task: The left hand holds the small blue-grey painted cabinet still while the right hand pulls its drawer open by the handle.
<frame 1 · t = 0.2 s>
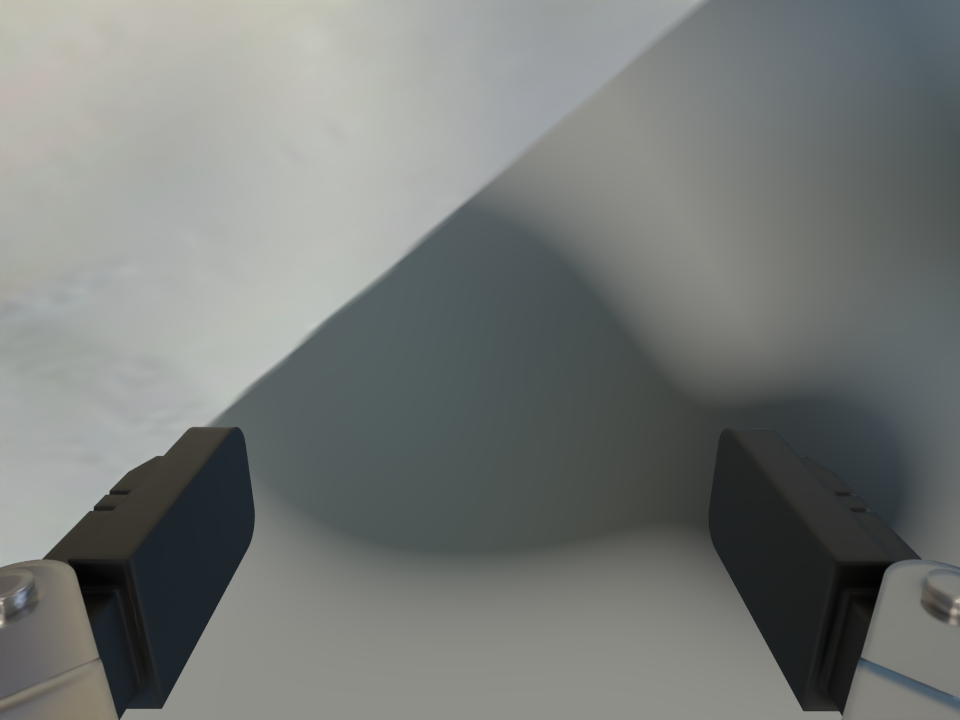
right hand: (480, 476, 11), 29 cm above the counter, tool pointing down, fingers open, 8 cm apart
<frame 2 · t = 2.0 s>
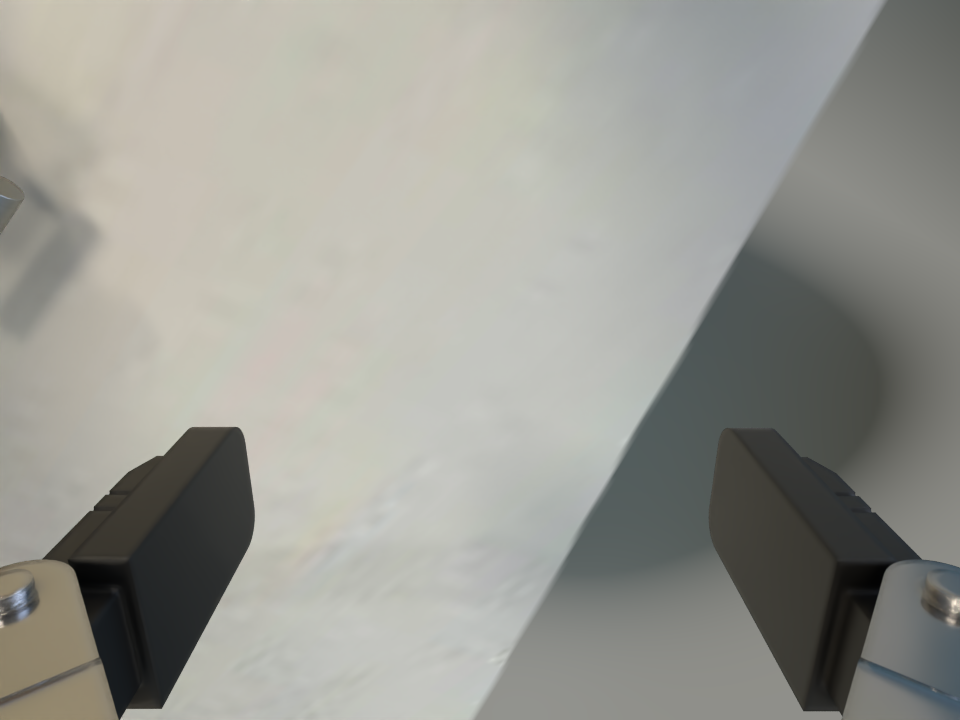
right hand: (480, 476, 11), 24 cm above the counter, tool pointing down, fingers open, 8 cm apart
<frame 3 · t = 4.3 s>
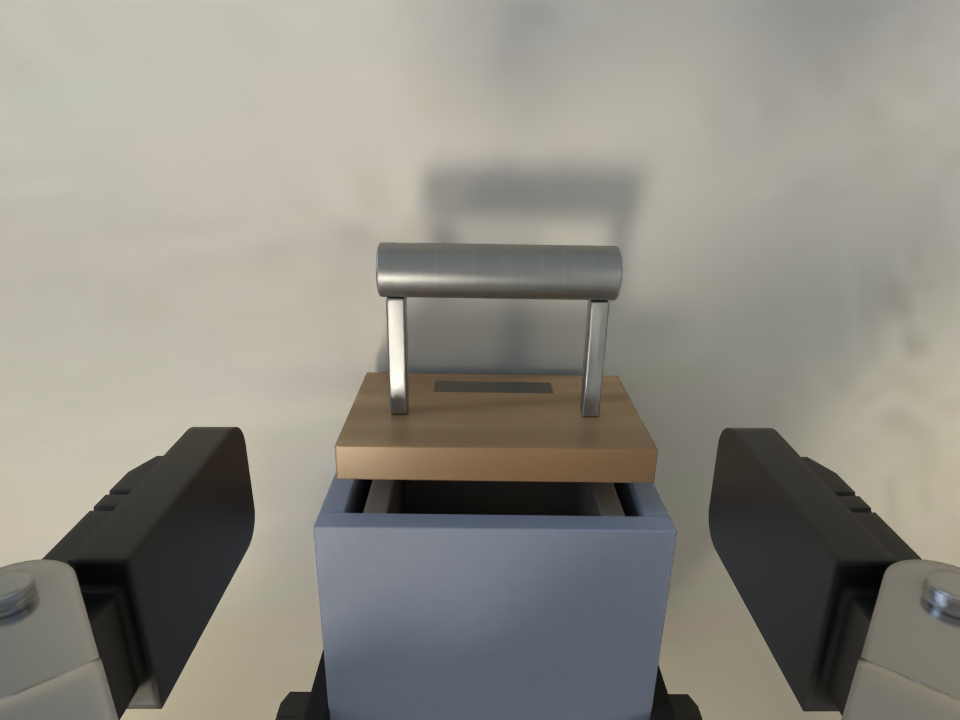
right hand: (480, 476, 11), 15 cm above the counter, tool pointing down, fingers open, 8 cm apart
drawer: (492, 490, 24), point 4 cm above the counter, slide at 1.1 cm
cabinet: (487, 553, 30), on the counter, touching left hand
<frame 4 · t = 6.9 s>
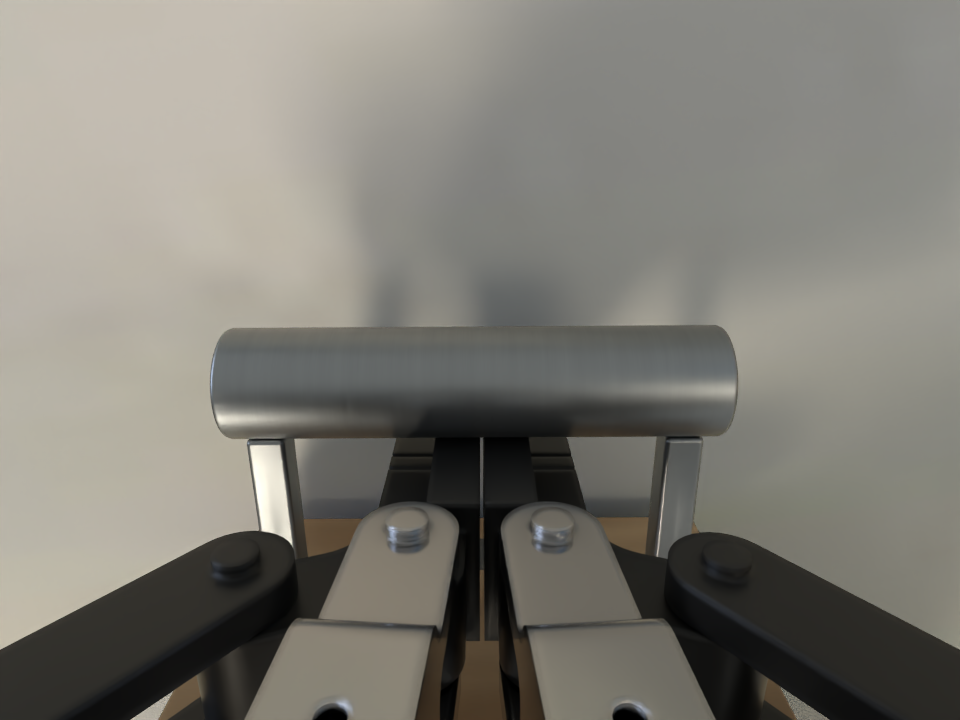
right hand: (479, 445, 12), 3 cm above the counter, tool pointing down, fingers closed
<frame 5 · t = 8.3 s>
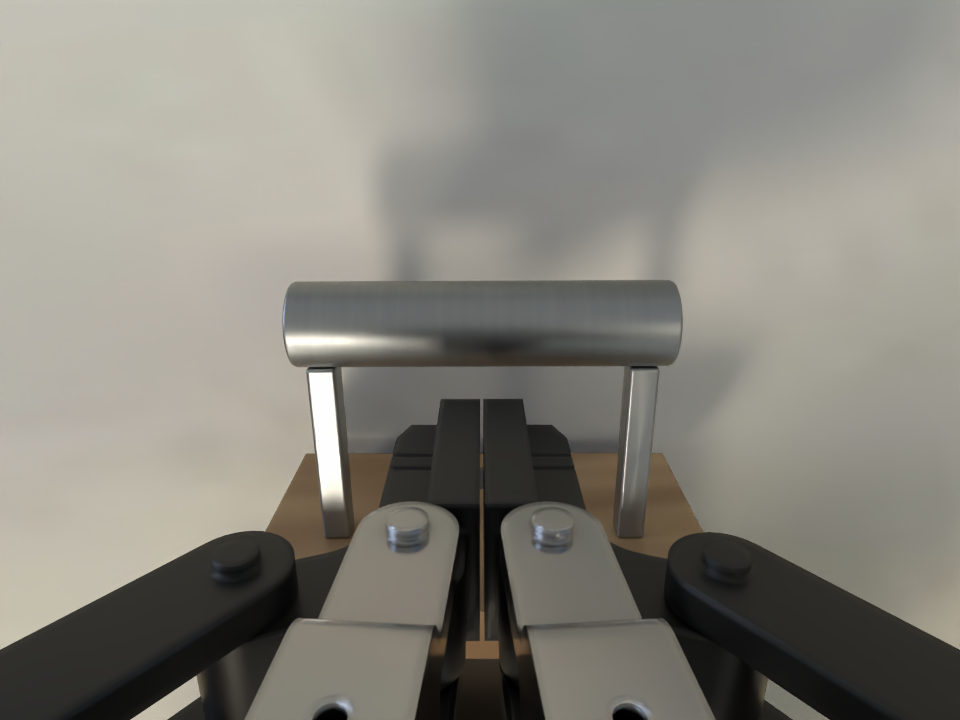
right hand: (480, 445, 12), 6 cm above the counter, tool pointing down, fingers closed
drawer: (484, 631, 17), point 4 cm above the counter, slide at 5.7 cm
when the left hand's fingers open (3 cm above the counter, at t = 9.8 s): cabinet stays where it is, on the counter.
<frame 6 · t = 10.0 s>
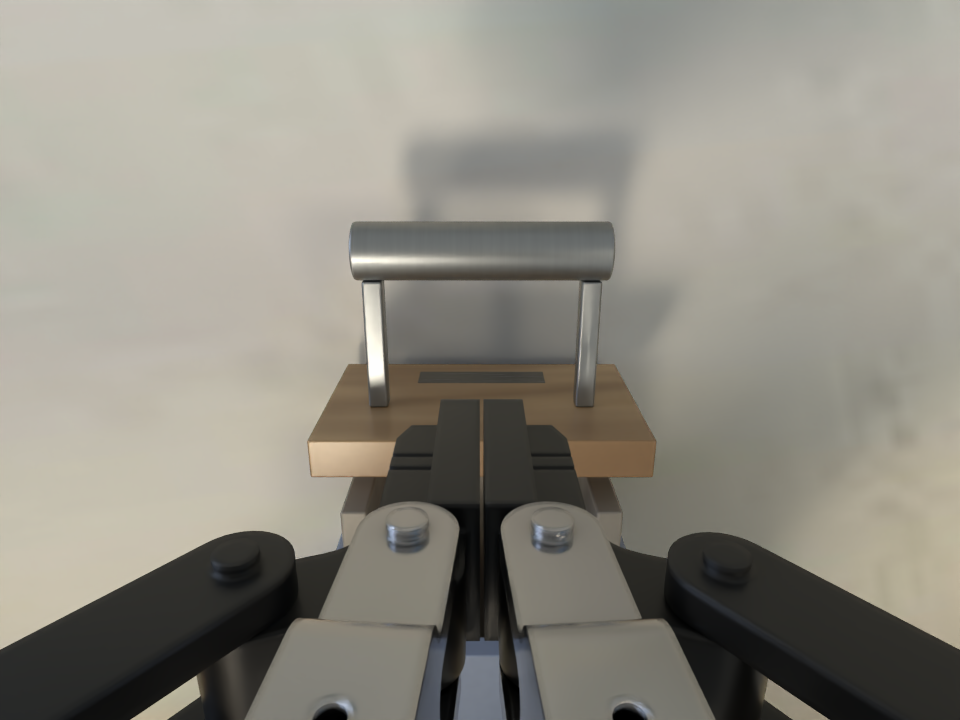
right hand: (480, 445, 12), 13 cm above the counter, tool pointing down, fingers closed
drawer: (481, 487, 23), point 4 cm above the counter, slide at 5.7 cm
cabinet: (480, 637, 30), on the counter
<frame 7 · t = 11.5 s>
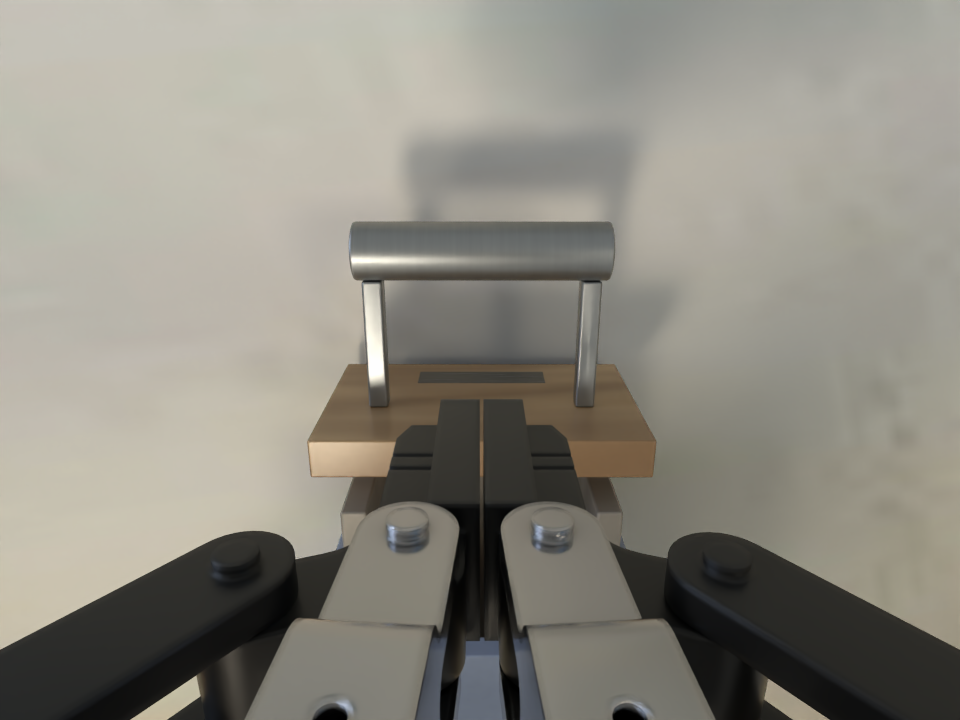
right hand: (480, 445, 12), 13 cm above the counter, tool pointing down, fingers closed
drawer: (481, 487, 23), point 4 cm above the counter, slide at 5.7 cm
cabinet: (480, 637, 30), on the counter
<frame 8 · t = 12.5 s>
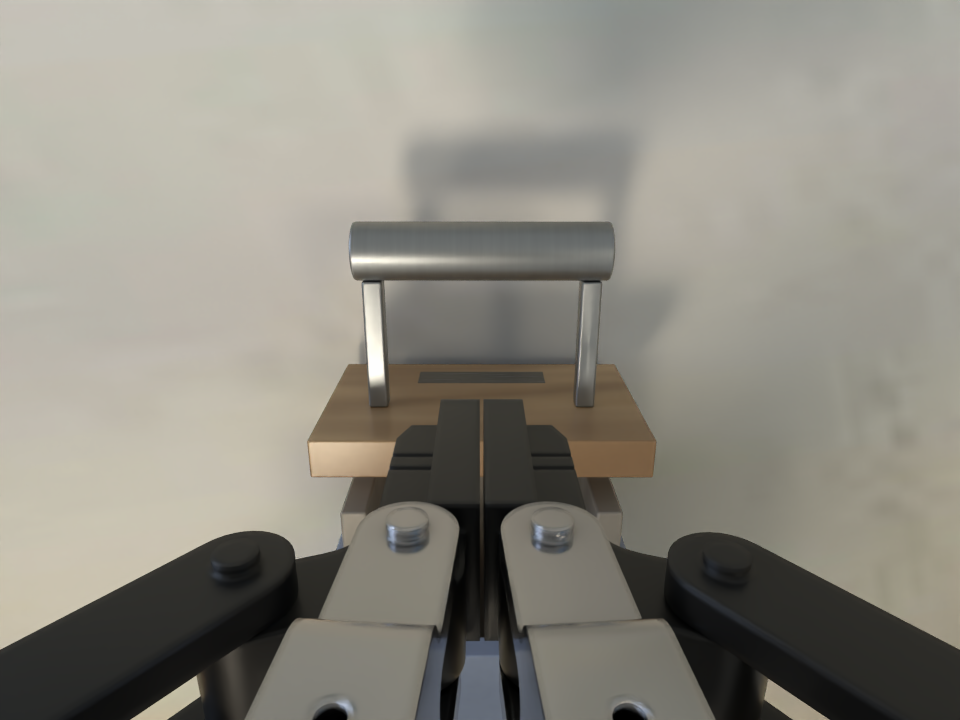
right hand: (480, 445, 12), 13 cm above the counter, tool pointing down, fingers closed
drawer: (481, 487, 23), point 4 cm above the counter, slide at 5.7 cm
cabinet: (480, 637, 30), on the counter
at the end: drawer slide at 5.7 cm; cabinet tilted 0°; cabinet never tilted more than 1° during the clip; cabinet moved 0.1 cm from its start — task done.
